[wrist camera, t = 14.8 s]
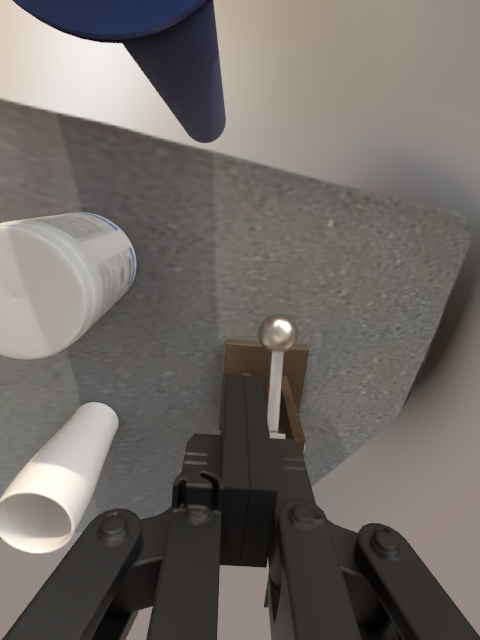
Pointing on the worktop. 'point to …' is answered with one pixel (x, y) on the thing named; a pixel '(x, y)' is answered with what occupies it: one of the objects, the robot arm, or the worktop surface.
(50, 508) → the white tapered cylinder
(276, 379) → the tap lever
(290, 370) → the bracket
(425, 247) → the worktop surface
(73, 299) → the supplement tub
